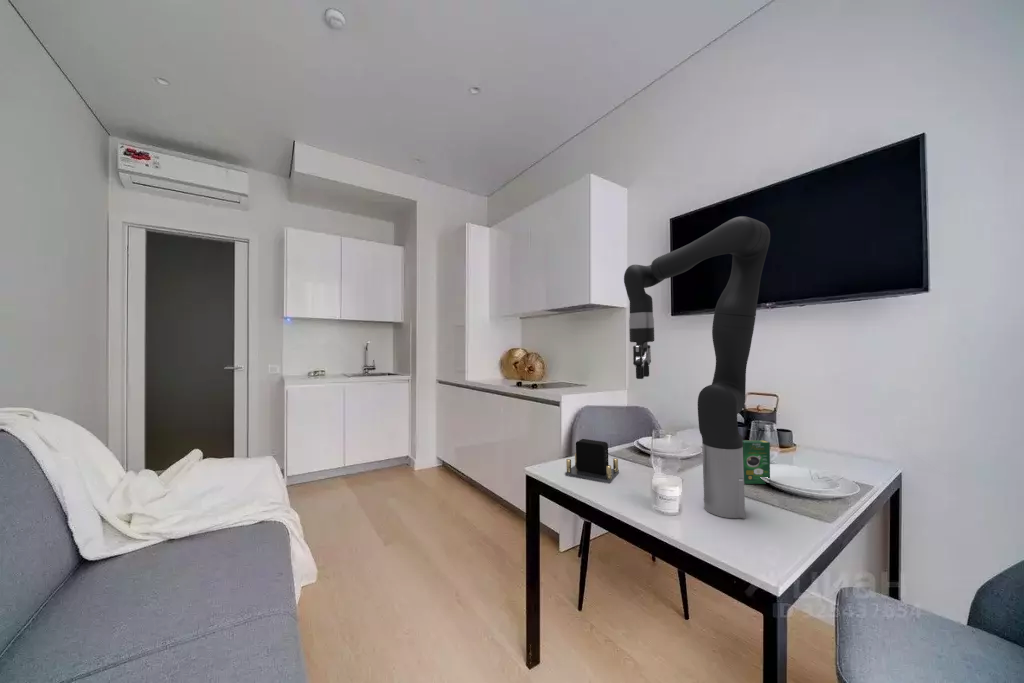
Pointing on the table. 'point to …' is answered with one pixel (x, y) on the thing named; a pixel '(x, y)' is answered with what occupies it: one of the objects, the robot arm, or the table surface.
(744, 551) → the table surface
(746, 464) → the coffee box
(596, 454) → the electronic device
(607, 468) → the chassis
